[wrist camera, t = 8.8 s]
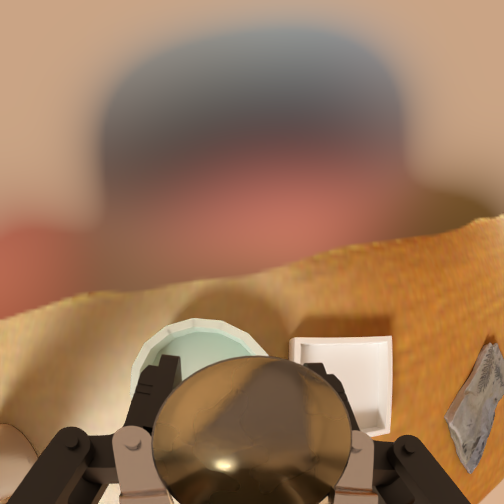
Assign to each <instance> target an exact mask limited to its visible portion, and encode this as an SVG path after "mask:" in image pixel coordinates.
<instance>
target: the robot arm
mask: <svg viewBox="0 0 504 504" xmlns="http://www.w3.org/2000/svg"><path fill="white" fill-rule="evenodd" d="M303 366H305V367H307V368H309V369H311V370H312V371H314V372H315V373H317V374H318V375H320V376H321V377H322V378H324V379H325V380H326V381H327V382H328V383H329V384H330V385H331V386H332V387H333V388H334V389H335V391H336V392H337V393H338V395H339V396H340V398H341V399H342V401H343V402H344V405H345V407H346V409H347V411H348V414H349V418H350V421H351V427H352V448H351V455H350V458H349V461H348V465H347V467H346V469H345V471H344V474H343V476H342V477H341V479H340V480H339V482H338V484H337V485H336V486H332V487H331V489H330V491H329V494H328V496H327V497H326V498H325V499H324V500H322V501H321V502H320V503H319V504H471V503H470V502H469V501H468V500H467V498H466V497H465V496H464V495H463V493H462V492H461V491H460V489H459V488H458V487H457V486H456V484H455V483H454V482H453V481H452V479H451V478H450V477H449V476H448V474H447V473H446V472H445V471H444V469H443V468H442V467H441V466H440V464H439V463H438V462H437V461H436V459H435V458H434V457H433V456H432V454H431V453H430V452H429V451H428V449H427V448H426V447H425V446H424V444H423V443H422V442H421V441H420V440H419V439H418V438H417V437H415V436H412V435H403V436H401V437H399V438H398V439H397V440H396V441H395V442H383V441H375V440H372V439H371V437H370V436H369V435H367V434H366V433H364V432H361V431H360V429H359V427H358V424H357V421H356V419H355V416H354V413H353V411H352V408H351V406H350V403H349V401H348V398H347V395H346V394H345V390H344V388H343V385H342V383H341V381H340V380H339V379H338V378H337V377H336V376H335V375H334V374H327V373H326V370H325V367H324V365H323V363H304V364H303ZM181 382H182V372H181V358H180V356H173V355H165V354H162V355H161V358H160V361H159V365H158V366H153V365H148V366H147V367H146V368H145V369H144V370H143V371H142V372H141V373H140V376H139V379H138V383H137V386H136V389H135V393H134V395H133V398H132V401H131V405H130V408H129V411H128V414H127V418H126V421H125V424H124V425H123V427H122V428H120V429H119V430H117V431H116V432H115V433H114V434H111V435H102V436H88V435H87V434H86V433H85V432H84V431H83V430H82V429H80V428H77V427H66V428H63V429H61V430H60V431H59V432H58V433H57V434H56V435H55V437H54V438H53V439H52V441H51V442H50V443H49V445H48V446H47V447H46V449H45V450H44V451H43V453H42V454H41V455H40V457H39V458H38V457H37V455H36V453H35V451H34V449H33V447H32V446H31V444H30V443H29V441H28V440H27V439H26V437H25V436H24V435H23V434H22V433H21V432H20V431H19V430H17V429H16V428H15V427H13V426H11V425H8V424H0V500H3V499H5V498H8V497H10V496H11V497H10V499H9V500H8V502H7V503H6V504H98V503H99V501H100V499H101V497H102V495H103V494H104V492H105V490H106V488H107V487H108V485H109V484H112V483H119V485H120V490H121V494H120V496H119V501H120V504H174V502H173V499H172V496H171V494H170V493H169V491H168V490H167V489H166V487H165V486H164V485H163V483H162V481H161V480H160V478H159V476H158V473H157V471H156V468H155V466H154V462H153V457H152V450H151V438H152V430H153V426H154V422H155V419H156V416H157V414H158V412H159V409H160V408H161V406H162V404H163V403H164V401H165V399H166V398H167V397H168V396H169V394H170V393H171V392H172V391H173V389H174V388H175V387H177V386H178V385H179V384H180V383H181Z"/></svg>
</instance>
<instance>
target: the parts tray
mask: <svg viewBox="0 0 504 504" xmlns="http://www.w3.org/2000/svg"><path fill="white" fill-rule="evenodd" d="M289 360H290V361H293V362H296V363H299V364H301V365H303V364H304V363H323V365H324V367H325V370H326V373H327V374H334V375H335V376H336V377H337V378H338V379H339V380H340V381H341V383H342V385H343V388H344V390H345V394H346V395H347V398H348V401H349V403H350V406H351V408H352V411H353V413H354V416H355V419H356V421H357V424H358V427H359V429H360V431H361V432H364V433H366V434H367V435H369V436H370V437H373V436H378V435H383V434H387V433H390V422H391V406H392V336H378V337H342V338H309V337H294V338H292V339H290V340H289Z"/></svg>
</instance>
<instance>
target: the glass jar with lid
mask: <svg viewBox="0 0 504 504" xmlns="http://www.w3.org/2000/svg"><path fill="white" fill-rule="evenodd" d="M351 448H352V427H351V421H350V418H349V414H348V411H347V409H346V407H345V405H344V402H343V401H342V399H341V398H340V396H339V395H338V393H337V392H336V391H335V389H334V388H333V387H332V386H331V385H330V384H329V383H328V382H327V381H326V380H325V379H324V378H322V377H321V376H320V375H318V374H317V373H315V372H314V371H312V370H311V369H309V368H307V367H305V366H303V365H301V364H299V363H296V362H293V361H290V360H287V359H282V358H278V357H272V356H261V355H257V356H241V357H233V358H229V359H225V360H221V361H218V362H216V363H213V364H210V365H208V366H206V367H204V368H202V369H200V370H198V371H196V372H194V373H193V374H191V375H190V376H189V377H187V378H186V379H184V380H183V381H182V382H181V383H180V384H179V385H178V386H177V387H175V388H174V389H173V391H172V392H171V393H170V394H169V396H168V397H167V398H166V399H165V401H164V403H163V404H162V406H161V408H160V409H159V412H158V414H157V416H156V419H155V422H154V426H153V430H152V438H151V450H152V457H153V462H154V466H155V468H156V471H157V473H158V476H159V478H160V480H161V481H162V483H163V485H164V486H165V487H166V489H167V490H168V491H169V493H170V494H171V495H172V496H173V497H174V498H175V499H176V500H177V501H178V502H179V503H180V504H319V503H320V502H321V501H322V500H324V499H325V498H326V497H327V496H328V494H329V491H330V489H331V487H332V486H336V485H337V484H338V482H339V480H340V479H341V477H342V476H343V474H344V471H345V469H346V467H347V465H348V461H349V458H350V455H351Z"/></svg>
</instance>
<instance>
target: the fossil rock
mask: <svg viewBox="0 0 504 504" xmlns="http://www.w3.org/2000/svg"><path fill="white" fill-rule="evenodd" d="M503 395H504V359H503V356H502V354H501V352H500V350H499V347H498V343H494V344H493V345H492V344H491V343H488V344H487V345H484V346H483V348H482V350H481V352H480V353H479V355H478V358H477V360H476V363H475V365H474V368H473V371H472V373H471V374H470V376H469V378H468V379H467V381H466V382H465V384H464V385H463V386H462V388H461V390H460V391H459V392H458V394H457V396H456V398H455V399H454V401H453V402H452V404H451V406H450V408H449V409H448V411H447V412H446V414H445V416H444V418H445V420H446V422H447V424H448V427H449V430H450V433H451V438H452V439H453V441H454V443H455V446H456V452H457V455H458V457H459V459H460V461H461V462H462V464H463V465H464V467H465V468H466V470H467V472H468V473H470V474H471V473H472V472H473V471H474V469H475V468H476V467H477V465H478V463H479V461H480V459H481V457H482V454H483V451H484V448H485V445H486V441H487V438H488V437H489V434H490V431H491V428H492V424H493V421H494V416H495V408H496V406H497V404H498V401H499V400H500V399H501V398H502V396H503Z"/></svg>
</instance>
